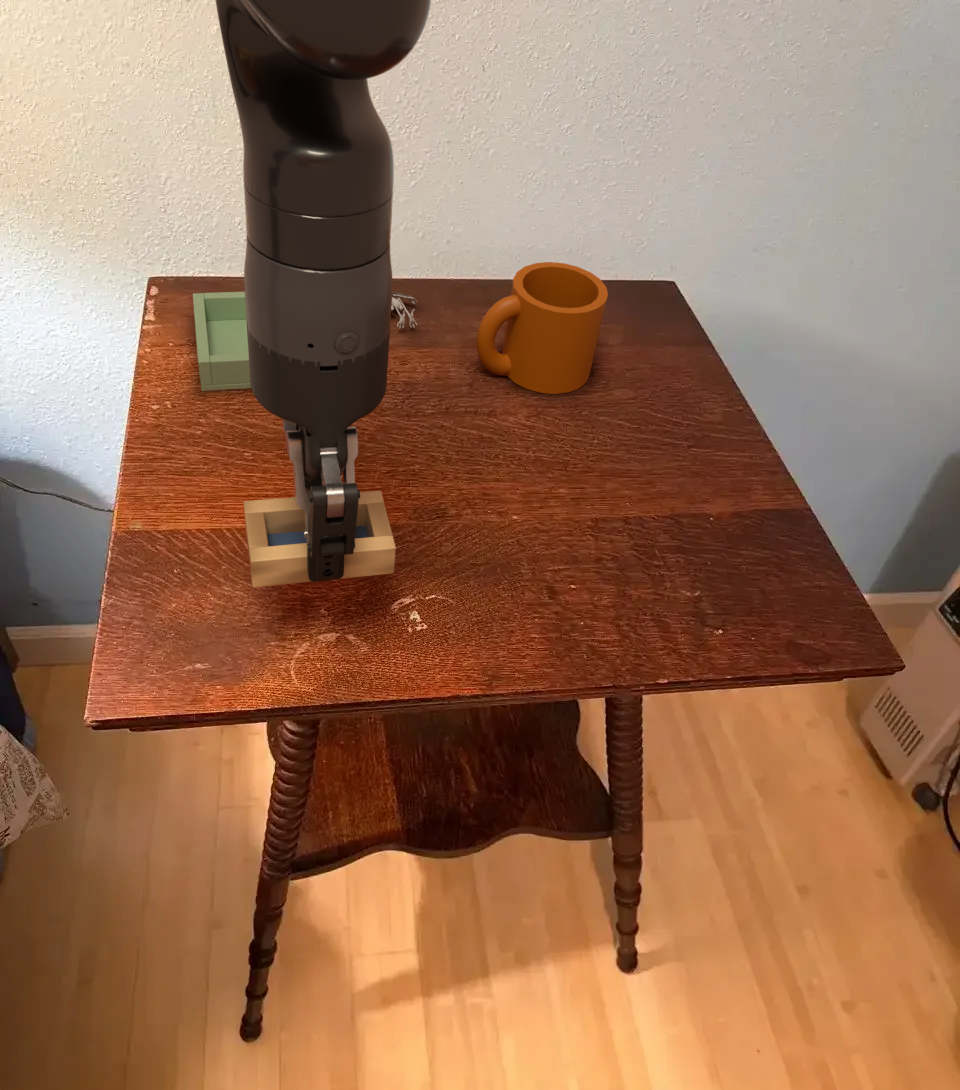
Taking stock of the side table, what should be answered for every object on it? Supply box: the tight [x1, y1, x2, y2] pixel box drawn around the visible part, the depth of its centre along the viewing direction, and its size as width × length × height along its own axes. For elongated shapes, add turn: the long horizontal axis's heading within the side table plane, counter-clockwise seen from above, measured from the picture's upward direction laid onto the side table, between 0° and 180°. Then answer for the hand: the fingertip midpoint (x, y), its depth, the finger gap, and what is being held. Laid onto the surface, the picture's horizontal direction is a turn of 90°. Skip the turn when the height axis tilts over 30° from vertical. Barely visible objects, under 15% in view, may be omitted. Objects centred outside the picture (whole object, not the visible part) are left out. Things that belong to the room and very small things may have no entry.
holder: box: [192, 291, 251, 392], centre depth 89 cm, size 14×12×3 cm
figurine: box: [391, 291, 418, 329], centre depth 96 cm, size 6×2×8 cm
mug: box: [475, 261, 609, 395], centre depth 89 cm, size 9×12×9 cm
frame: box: [242, 490, 397, 588], centre depth 61 cm, size 9×6×2 cm, turn 104°
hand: (319, 542), depth 62 cm, fingers closed on frame, 5 cm apart
